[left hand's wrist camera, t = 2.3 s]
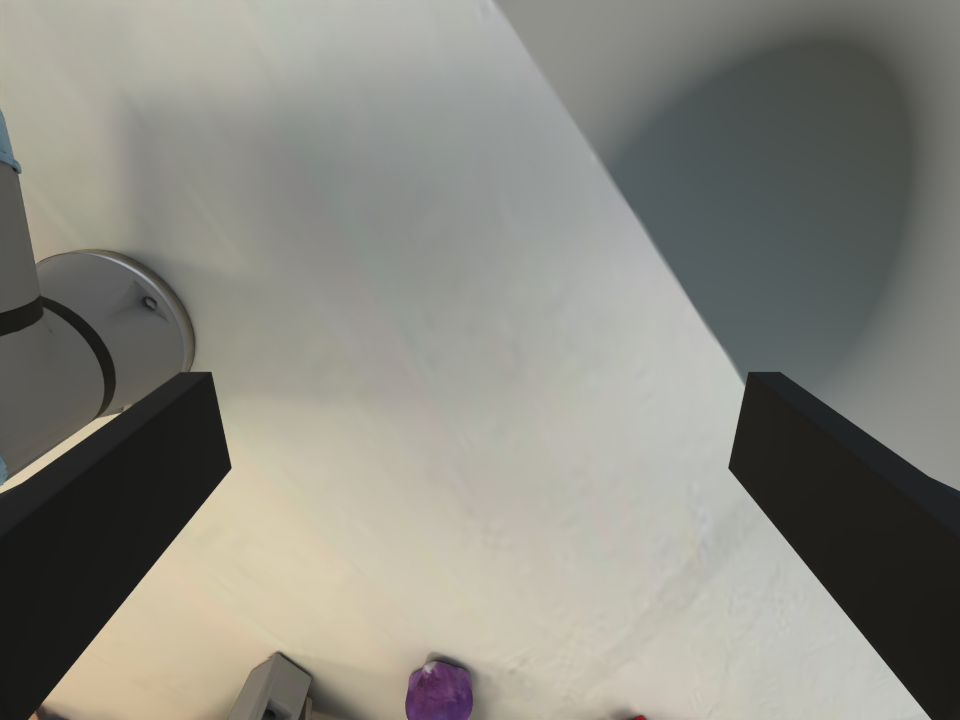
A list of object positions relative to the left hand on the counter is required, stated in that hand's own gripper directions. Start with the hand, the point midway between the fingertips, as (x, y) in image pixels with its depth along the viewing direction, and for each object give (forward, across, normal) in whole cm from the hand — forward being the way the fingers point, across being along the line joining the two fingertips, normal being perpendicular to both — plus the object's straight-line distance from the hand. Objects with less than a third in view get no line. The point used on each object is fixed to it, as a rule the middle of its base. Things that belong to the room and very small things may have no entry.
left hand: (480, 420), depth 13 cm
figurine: (+35, +4, +58) cm, 67 cm away
